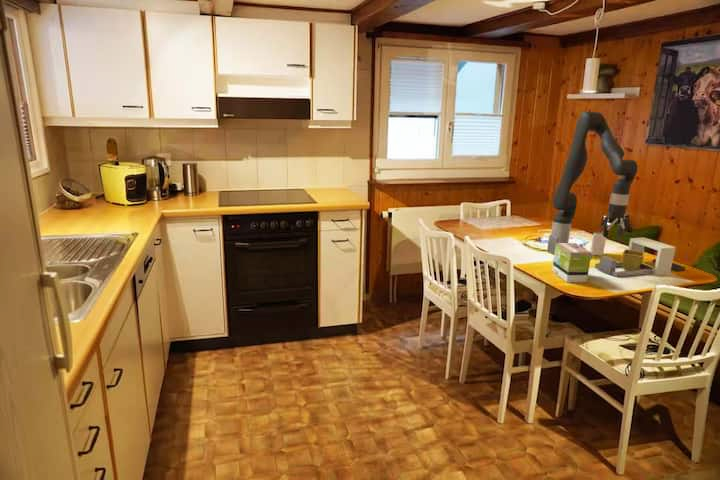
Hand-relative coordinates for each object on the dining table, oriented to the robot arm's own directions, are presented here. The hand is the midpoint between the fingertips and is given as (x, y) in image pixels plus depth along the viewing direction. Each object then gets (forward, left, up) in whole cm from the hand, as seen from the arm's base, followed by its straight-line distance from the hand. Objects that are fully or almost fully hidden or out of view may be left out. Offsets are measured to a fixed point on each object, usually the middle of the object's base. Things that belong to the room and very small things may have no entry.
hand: (612, 236), depth 231 cm
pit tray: (+40, 0, -18) cm, 44 cm away
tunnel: (+26, 0, -18) cm, 31 cm away
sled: (+10, 0, -18) cm, 20 cm away
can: (+19, +26, -18) cm, 37 cm away
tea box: (-23, -1, -18) cm, 29 cm away
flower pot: (+15, 0, -18) cm, 24 cm away
